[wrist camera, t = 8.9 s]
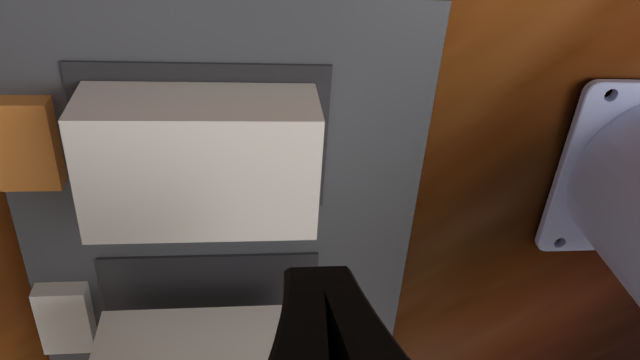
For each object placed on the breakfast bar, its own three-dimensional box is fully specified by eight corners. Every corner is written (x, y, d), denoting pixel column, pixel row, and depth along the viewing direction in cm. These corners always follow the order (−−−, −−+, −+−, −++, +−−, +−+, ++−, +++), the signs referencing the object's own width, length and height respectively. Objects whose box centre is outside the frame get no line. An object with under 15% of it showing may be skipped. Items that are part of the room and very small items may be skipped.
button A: (315, 83, 20) (324, 121, 18) (308, 193, 22) (316, 240, 20) (80, 80, 19) (58, 120, 17) (99, 195, 21) (82, 244, 19)
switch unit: (441, -10, 20) (459, 8, 19) (364, 453, 34) (370, 487, 32) (-34, -25, 18) (-62, -6, 17) (90, 471, 32) (81, 508, 31)
